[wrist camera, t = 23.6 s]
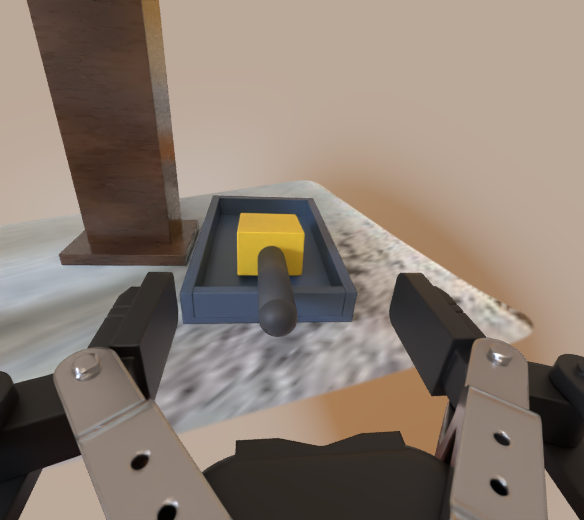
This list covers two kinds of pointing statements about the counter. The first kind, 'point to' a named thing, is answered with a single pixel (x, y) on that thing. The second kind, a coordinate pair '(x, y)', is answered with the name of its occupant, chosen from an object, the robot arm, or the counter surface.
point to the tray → (244, 288)
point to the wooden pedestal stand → (115, 129)
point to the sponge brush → (272, 265)
